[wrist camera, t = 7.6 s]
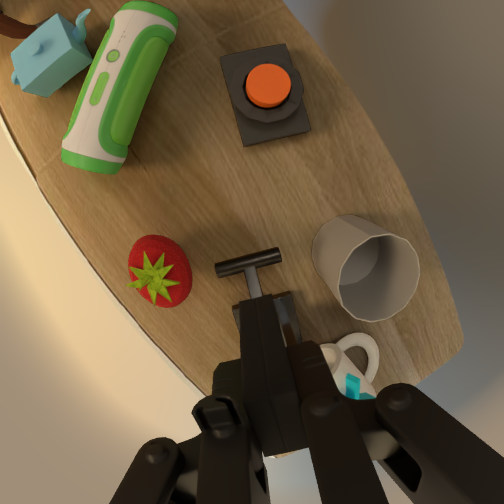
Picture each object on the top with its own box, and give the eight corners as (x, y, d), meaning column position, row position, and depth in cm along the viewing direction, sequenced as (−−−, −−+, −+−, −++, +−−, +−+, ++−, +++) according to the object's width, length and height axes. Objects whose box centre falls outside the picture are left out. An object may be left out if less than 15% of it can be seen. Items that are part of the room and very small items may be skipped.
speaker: (132, 21, 27) (111, -6, 20) (187, 32, 28) (176, 2, 21) (77, 157, 32) (43, 158, 24) (130, 174, 32) (104, 178, 25)
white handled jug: (367, 448, 32) (320, 406, 30) (329, 421, 41) (282, 378, 38) (422, 378, 36) (387, 324, 33) (379, 362, 44) (340, 312, 41)
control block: (220, 63, 30) (218, 50, 26) (282, 49, 30) (288, 37, 26) (243, 147, 32) (244, 144, 29) (306, 132, 32) (315, 128, 28)
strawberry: (165, 294, 36) (144, 337, 27) (133, 238, 34) (99, 265, 25) (209, 273, 36) (200, 312, 26) (177, 214, 34) (155, 234, 24)
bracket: (232, 305, 37) (230, 378, 24) (289, 290, 37) (316, 356, 24) (249, 359, 39) (255, 438, 26) (302, 345, 39) (328, 420, 26)
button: (241, 74, 27) (241, 68, 25) (281, 66, 27) (284, 60, 25) (251, 111, 28) (253, 108, 26) (292, 103, 28) (296, 98, 26)
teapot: (103, 15, 27) (79, -11, 19) (120, 47, 28) (95, 23, 21) (29, 72, 28) (-5, 61, 20) (42, 106, 29) (6, 98, 22)
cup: (370, 285, 37) (407, 321, 28) (307, 282, 37) (330, 322, 27) (382, 217, 35) (427, 237, 26) (316, 210, 35) (346, 228, 25)
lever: (217, 265, 30) (212, 261, 28) (278, 249, 30) (278, 243, 28) (253, 407, 28) (251, 414, 25) (315, 391, 27) (318, 398, 25)
